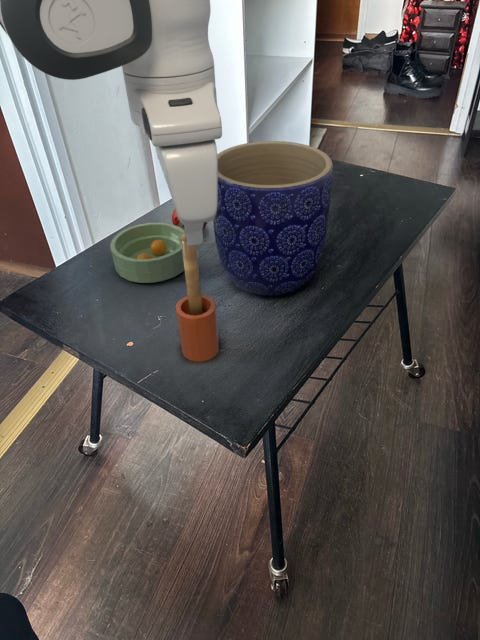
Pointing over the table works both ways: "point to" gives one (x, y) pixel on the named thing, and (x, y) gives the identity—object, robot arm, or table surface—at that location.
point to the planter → (272, 214)
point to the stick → (192, 276)
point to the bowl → (148, 252)
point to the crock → (198, 330)
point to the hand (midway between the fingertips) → (187, 222)
